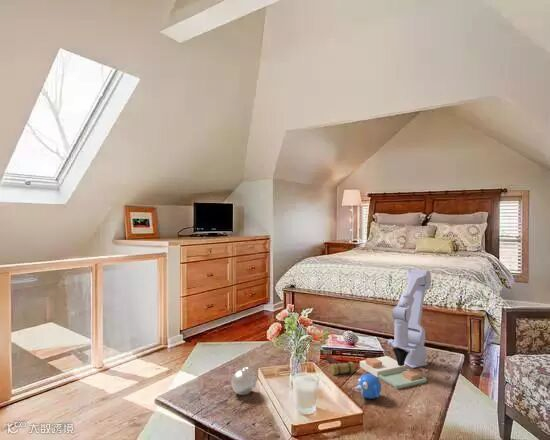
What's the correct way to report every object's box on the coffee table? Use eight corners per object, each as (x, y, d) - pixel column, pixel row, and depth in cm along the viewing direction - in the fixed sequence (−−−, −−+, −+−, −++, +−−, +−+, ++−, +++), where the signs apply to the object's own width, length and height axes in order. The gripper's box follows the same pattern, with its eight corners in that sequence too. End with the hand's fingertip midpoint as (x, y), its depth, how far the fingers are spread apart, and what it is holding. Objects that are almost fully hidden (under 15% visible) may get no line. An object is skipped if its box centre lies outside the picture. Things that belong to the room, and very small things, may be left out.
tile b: (374, 362, 161) (374, 357, 161) (382, 366, 157) (382, 361, 157) (365, 363, 159) (365, 359, 159) (373, 368, 155) (373, 363, 155)
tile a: (420, 374, 149) (420, 379, 149) (410, 369, 154) (410, 374, 154) (411, 376, 147) (411, 381, 147) (402, 371, 151) (402, 376, 151)
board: (386, 361, 169) (387, 355, 169) (405, 371, 158) (406, 365, 158) (359, 366, 162) (359, 361, 162) (377, 377, 151) (377, 371, 151)
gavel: (315, 351, 172) (333, 349, 175) (315, 361, 172) (334, 359, 175) (334, 366, 152) (355, 363, 155) (334, 376, 152) (355, 374, 155)
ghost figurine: (250, 401, 130) (250, 374, 130) (227, 396, 133) (227, 370, 133) (259, 390, 138) (259, 364, 138) (237, 386, 142) (238, 361, 142)
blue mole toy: (343, 393, 137) (343, 371, 137) (368, 388, 142) (368, 366, 142) (362, 409, 126) (362, 385, 126) (389, 402, 131) (389, 379, 131)
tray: (406, 371, 158) (406, 367, 158) (427, 382, 147) (427, 378, 147) (377, 377, 151) (378, 374, 151) (397, 389, 141) (397, 385, 141)
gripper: (382, 330, 160) (382, 360, 160) (406, 340, 147) (406, 373, 147) (394, 328, 163) (394, 358, 163) (419, 338, 150) (419, 370, 150)
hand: (400, 365), depth 155 cm, fingers closed
